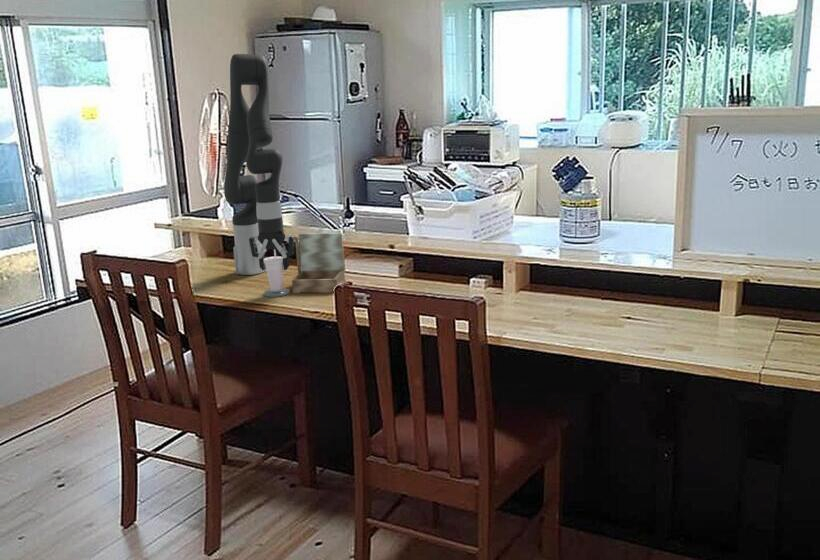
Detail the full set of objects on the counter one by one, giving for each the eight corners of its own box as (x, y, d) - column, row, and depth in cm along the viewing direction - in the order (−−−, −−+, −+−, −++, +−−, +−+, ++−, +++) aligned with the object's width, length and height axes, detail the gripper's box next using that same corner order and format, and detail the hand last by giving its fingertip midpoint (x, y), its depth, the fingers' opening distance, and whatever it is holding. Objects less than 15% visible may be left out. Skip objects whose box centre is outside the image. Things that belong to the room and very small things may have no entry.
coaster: (260, 297, 247) (260, 295, 247) (268, 290, 255) (268, 288, 255) (286, 297, 246) (285, 295, 246) (292, 289, 254) (292, 288, 254)
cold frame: (289, 292, 251) (284, 242, 247) (299, 282, 263) (295, 233, 259) (337, 292, 249) (333, 241, 245) (345, 281, 261) (341, 232, 257)
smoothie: (285, 291, 247) (281, 246, 244) (264, 292, 247) (259, 247, 244) (288, 285, 253) (284, 242, 250) (268, 286, 254) (264, 242, 250)
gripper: (295, 213, 247) (300, 266, 252) (250, 214, 249) (255, 267, 253) (289, 217, 240) (294, 272, 244) (242, 219, 242) (248, 273, 246)
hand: (274, 269), depth 249 cm, fingers closed on smoothie, 6 cm apart
